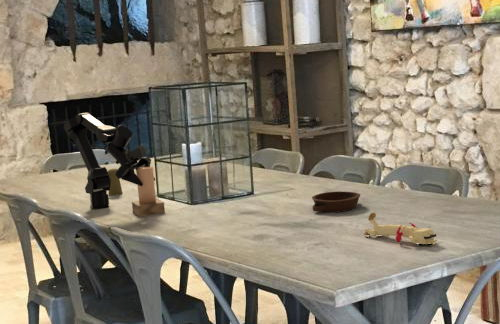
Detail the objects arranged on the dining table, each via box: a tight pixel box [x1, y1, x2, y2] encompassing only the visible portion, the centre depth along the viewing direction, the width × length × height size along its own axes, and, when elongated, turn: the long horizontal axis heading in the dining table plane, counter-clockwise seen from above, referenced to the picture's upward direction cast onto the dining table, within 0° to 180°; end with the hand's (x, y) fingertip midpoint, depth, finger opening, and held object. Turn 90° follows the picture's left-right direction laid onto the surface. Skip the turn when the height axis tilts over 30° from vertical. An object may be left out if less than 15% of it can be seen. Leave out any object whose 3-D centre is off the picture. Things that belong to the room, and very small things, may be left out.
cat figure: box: [363, 212, 438, 245], centre depth 267 cm, size 10×9×25 cm
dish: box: [311, 191, 361, 213], centre depth 320 cm, size 18×22×5 cm
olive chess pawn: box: [107, 168, 123, 196], centre depth 379 cm, size 6×6×11 cm
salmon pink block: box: [135, 166, 157, 204], centre depth 334 cm, size 6×6×13 cm
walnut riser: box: [131, 198, 166, 217], centre depth 336 cm, size 10×10×4 cm
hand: (148, 183), depth 334 cm, fingers open, 9 cm apart
